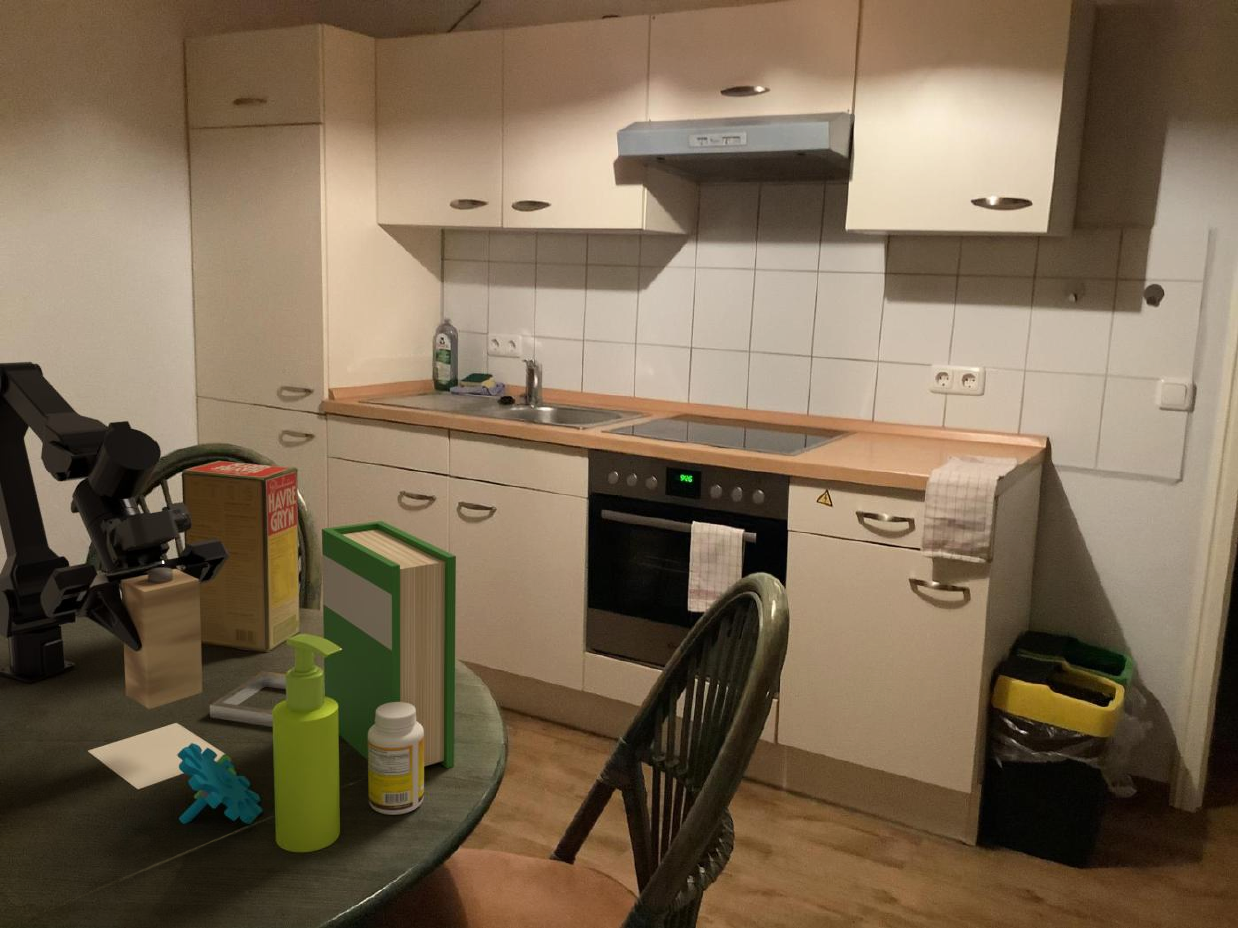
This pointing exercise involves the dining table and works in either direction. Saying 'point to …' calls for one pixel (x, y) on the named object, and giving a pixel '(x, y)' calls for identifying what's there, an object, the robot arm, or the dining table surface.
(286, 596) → the food packaging
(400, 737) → the supplement bottle
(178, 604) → the block
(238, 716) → the pocket
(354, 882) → the dining table surface
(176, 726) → the beige flat slab
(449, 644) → the hardback book
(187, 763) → the gear
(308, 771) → the soap dispenser
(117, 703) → the dining table surface
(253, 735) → the dining table surface
